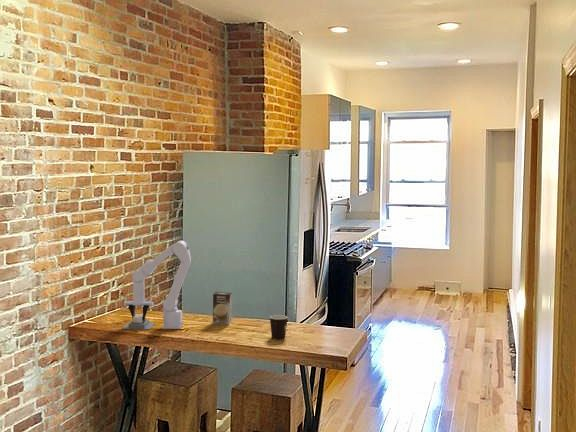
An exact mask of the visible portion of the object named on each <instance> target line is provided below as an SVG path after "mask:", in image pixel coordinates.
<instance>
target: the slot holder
mask: <svg viewBox="0 0 576 432" xmlns="http://www.w3.org/2000/svg"><path fill="white" fill-rule="evenodd" d="M154 324H155V325H156V322H153V321H152V322H150V319H148V318H147V319H146V318H145V322H144V323H143V324H133V319H132V320H131V321H127V322H126V324H124V326H122V327H121V330H124V329H134V331H151V330H152V328H153V327H154V326H155V325H154Z"/></svg>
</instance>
